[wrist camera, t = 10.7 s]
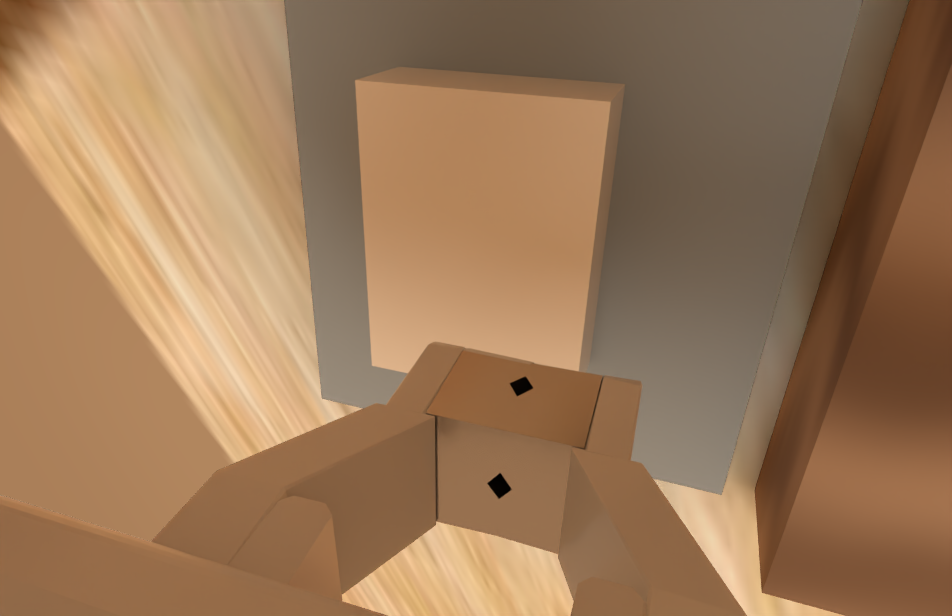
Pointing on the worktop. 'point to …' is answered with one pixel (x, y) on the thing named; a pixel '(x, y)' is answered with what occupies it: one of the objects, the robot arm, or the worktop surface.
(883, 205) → the brown flat wooden block
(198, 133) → the worktop surface
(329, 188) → the mat
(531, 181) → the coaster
